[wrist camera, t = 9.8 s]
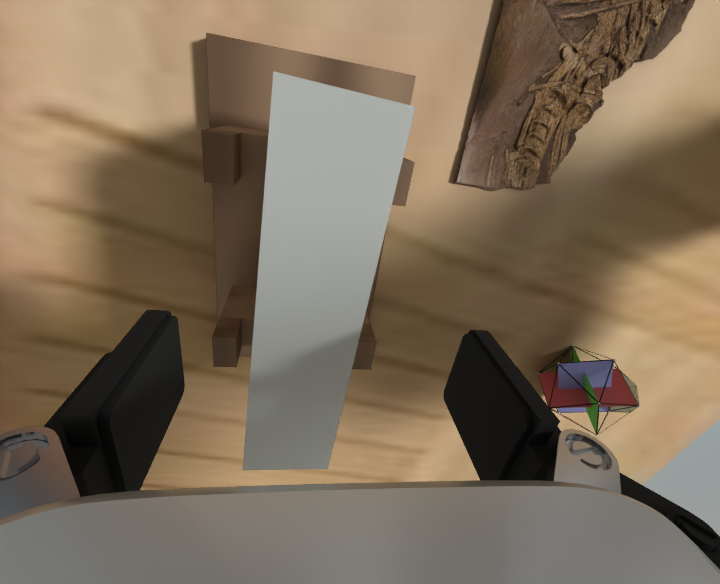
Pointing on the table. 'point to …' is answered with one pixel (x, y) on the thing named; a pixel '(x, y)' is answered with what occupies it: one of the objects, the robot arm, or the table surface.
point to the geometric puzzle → (588, 388)
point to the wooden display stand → (248, 168)
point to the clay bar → (316, 262)
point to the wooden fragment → (555, 80)
